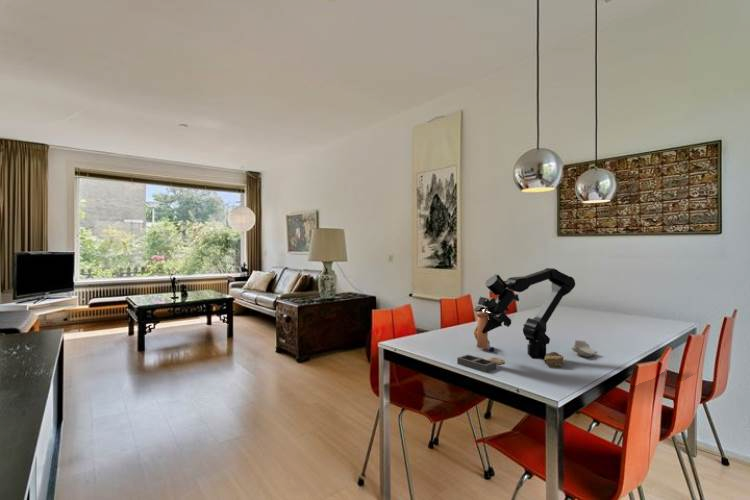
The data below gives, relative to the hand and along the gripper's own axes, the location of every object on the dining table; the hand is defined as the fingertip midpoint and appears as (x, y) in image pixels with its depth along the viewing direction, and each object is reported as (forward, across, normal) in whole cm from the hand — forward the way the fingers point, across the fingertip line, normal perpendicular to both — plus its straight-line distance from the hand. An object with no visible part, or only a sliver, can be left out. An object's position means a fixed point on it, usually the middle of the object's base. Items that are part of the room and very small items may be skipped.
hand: (479, 331), depth 148 cm
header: (+12, +3, +6) cm, 14 cm away
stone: (-10, +8, +29) cm, 32 cm away
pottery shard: (-23, +4, +44) cm, 50 cm away
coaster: (+5, 0, +13) cm, 14 cm away
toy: (+1, -18, +18) cm, 25 cm away
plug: (+4, 0, +5) cm, 7 cm away
